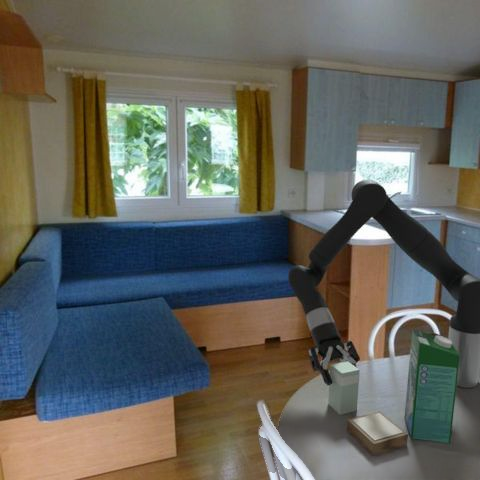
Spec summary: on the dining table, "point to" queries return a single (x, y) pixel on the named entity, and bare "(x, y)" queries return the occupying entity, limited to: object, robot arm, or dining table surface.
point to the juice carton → (343, 387)
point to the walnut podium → (377, 433)
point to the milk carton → (431, 387)
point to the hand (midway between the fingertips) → (343, 381)
